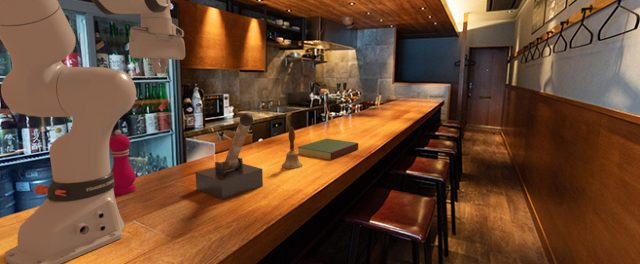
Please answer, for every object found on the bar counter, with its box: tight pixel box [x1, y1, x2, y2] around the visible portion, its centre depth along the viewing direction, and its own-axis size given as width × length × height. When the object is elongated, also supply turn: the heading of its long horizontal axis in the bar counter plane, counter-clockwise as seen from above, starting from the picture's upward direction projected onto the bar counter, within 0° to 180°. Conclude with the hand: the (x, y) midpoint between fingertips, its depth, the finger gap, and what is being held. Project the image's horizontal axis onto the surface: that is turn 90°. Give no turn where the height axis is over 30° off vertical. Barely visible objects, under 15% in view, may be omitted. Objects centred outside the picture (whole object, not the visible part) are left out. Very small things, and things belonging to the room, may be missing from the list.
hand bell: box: [281, 126, 303, 170], centre depth 138 cm, size 8×8×16 cm
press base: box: [195, 157, 264, 201], centre depth 112 cm, size 14×16×9 cm
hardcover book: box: [297, 138, 359, 161], centre depth 164 cm, size 25×19×4 cm
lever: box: [220, 112, 254, 171], centre depth 107 cm, size 4×6×22 cm
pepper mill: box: [109, 129, 137, 196], centre depth 108 cm, size 7×7×20 cm
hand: (160, 73), depth 110 cm, fingers closed
